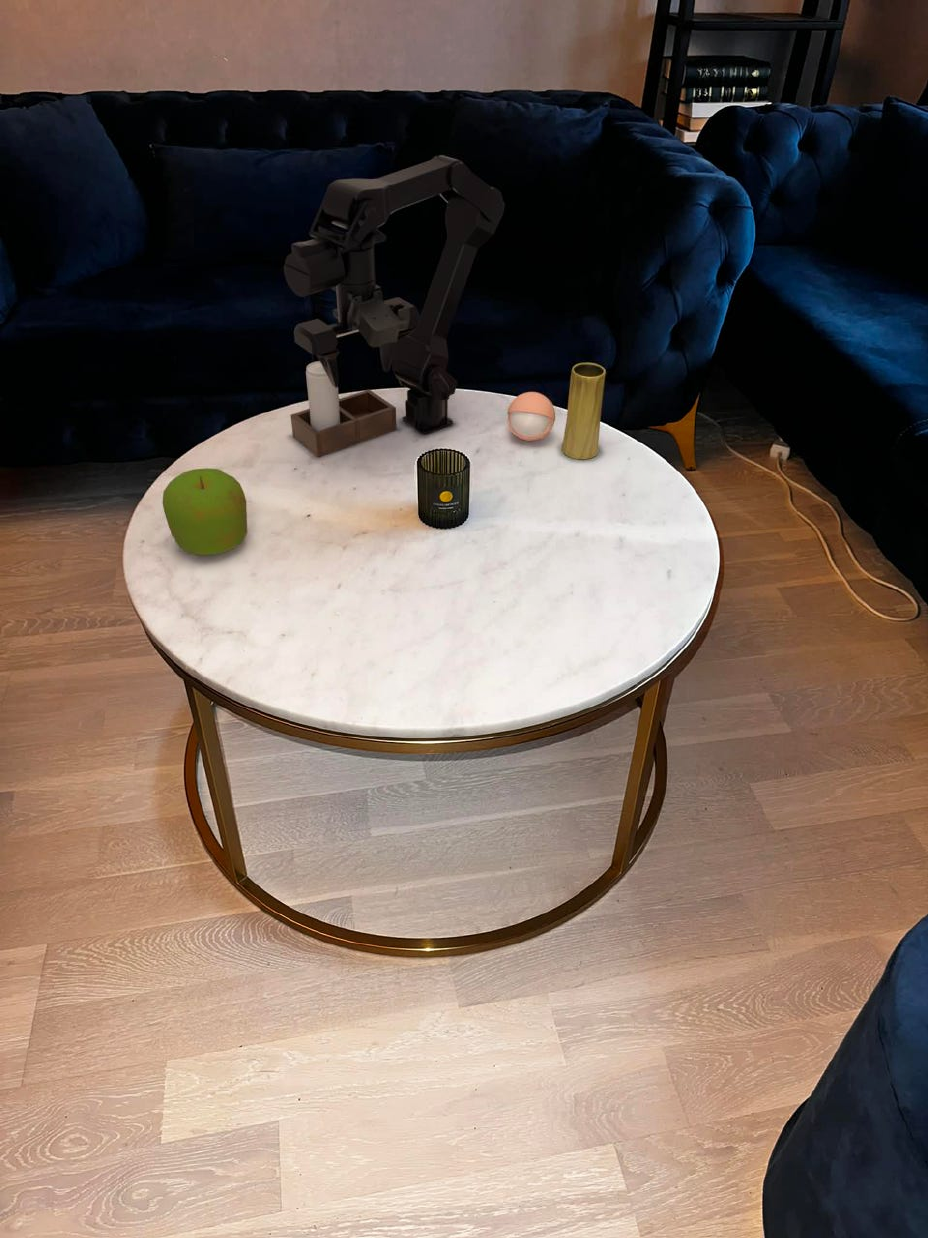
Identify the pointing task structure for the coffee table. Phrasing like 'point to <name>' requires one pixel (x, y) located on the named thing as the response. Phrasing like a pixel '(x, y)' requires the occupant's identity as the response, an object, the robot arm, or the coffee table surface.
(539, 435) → the toy ball
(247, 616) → the coffee table surface
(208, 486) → the apple
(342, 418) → the brown wooden divided box
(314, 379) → the beverage can
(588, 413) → the vase
